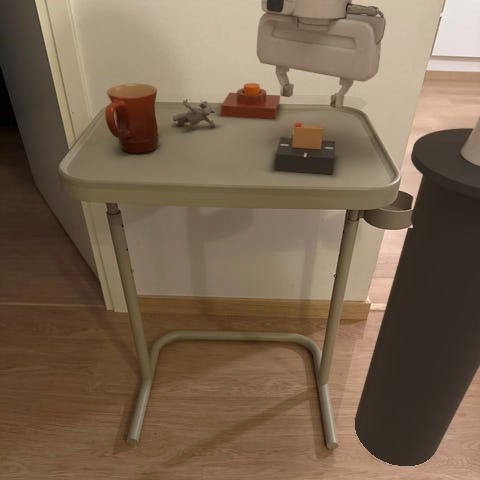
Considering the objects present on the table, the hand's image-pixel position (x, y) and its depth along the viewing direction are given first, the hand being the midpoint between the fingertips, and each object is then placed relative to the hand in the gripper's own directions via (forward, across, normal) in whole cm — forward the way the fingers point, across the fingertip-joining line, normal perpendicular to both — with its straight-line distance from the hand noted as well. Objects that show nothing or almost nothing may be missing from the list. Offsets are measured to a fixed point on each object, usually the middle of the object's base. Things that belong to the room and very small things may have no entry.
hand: (310, 101), depth 77 cm
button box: (+11, +25, -19) cm, 33 cm away
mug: (+11, +28, +14) cm, 34 cm away
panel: (+11, 0, 0) cm, 11 cm away
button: (+7, +25, -19) cm, 32 cm away
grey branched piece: (+11, +27, -1) cm, 29 cm away
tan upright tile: (+8, 0, 0) cm, 8 cm away
